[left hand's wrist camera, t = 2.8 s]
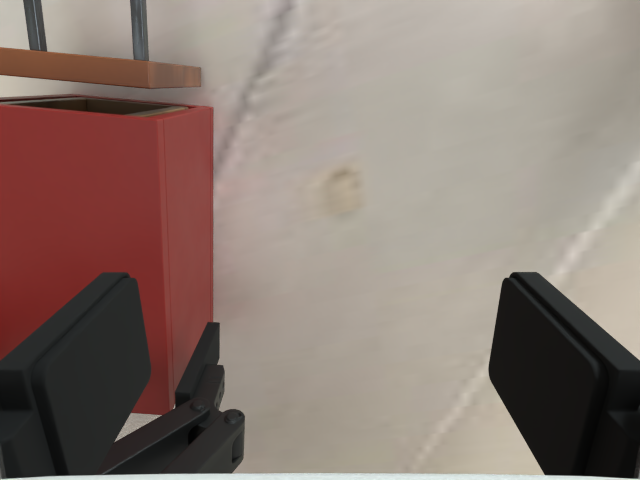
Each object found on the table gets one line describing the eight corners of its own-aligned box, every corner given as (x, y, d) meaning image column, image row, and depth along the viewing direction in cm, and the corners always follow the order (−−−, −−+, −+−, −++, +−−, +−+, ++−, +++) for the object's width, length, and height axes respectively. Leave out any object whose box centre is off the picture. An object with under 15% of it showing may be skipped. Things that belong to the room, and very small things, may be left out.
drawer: (55, -59, 26) (-75, -126, 17) (199, -44, 26) (140, -104, 18) (91, 278, 33) (14, 343, 25) (202, 287, 34) (162, 355, 25)
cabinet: (70, 94, 30) (-61, 100, 19) (213, 107, 30) (156, 119, 20) (94, 312, 36) (3, 403, 25) (213, 321, 36) (169, 416, 26)
